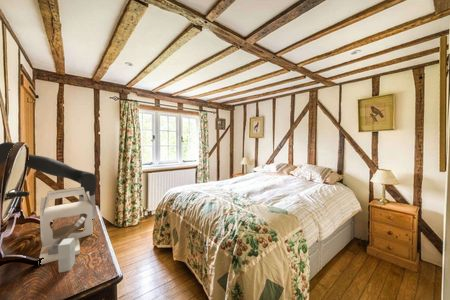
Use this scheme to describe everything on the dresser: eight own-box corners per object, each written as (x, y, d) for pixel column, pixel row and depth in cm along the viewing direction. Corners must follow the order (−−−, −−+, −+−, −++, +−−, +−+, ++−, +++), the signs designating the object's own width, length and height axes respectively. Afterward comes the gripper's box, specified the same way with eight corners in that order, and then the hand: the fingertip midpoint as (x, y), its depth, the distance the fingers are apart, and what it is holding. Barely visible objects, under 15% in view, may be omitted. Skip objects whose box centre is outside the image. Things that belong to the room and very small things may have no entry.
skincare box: (63, 264, 89) (63, 238, 89) (75, 262, 91) (74, 237, 90) (58, 273, 84) (57, 245, 83) (70, 270, 85) (69, 243, 85)
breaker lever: (60, 238, 101) (82, 216, 103) (64, 240, 101) (85, 219, 104) (54, 244, 95) (77, 220, 98) (58, 246, 96) (81, 223, 98)
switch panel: (41, 250, 100) (41, 239, 99) (78, 241, 109) (78, 231, 109) (38, 265, 89) (38, 252, 88) (80, 253, 98) (79, 241, 98)
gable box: (42, 248, 102) (41, 195, 100) (40, 239, 110) (38, 190, 109) (93, 234, 118) (92, 187, 116) (87, 227, 127) (86, 184, 125)
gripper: (-34, 191, 83) (19, 189, 88) (-9, 184, 95) (36, 183, 101) (-33, 209, 83) (19, 205, 89) (-8, 200, 96) (36, 197, 101)
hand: (28, 193), depth 95 cm, fingers closed
